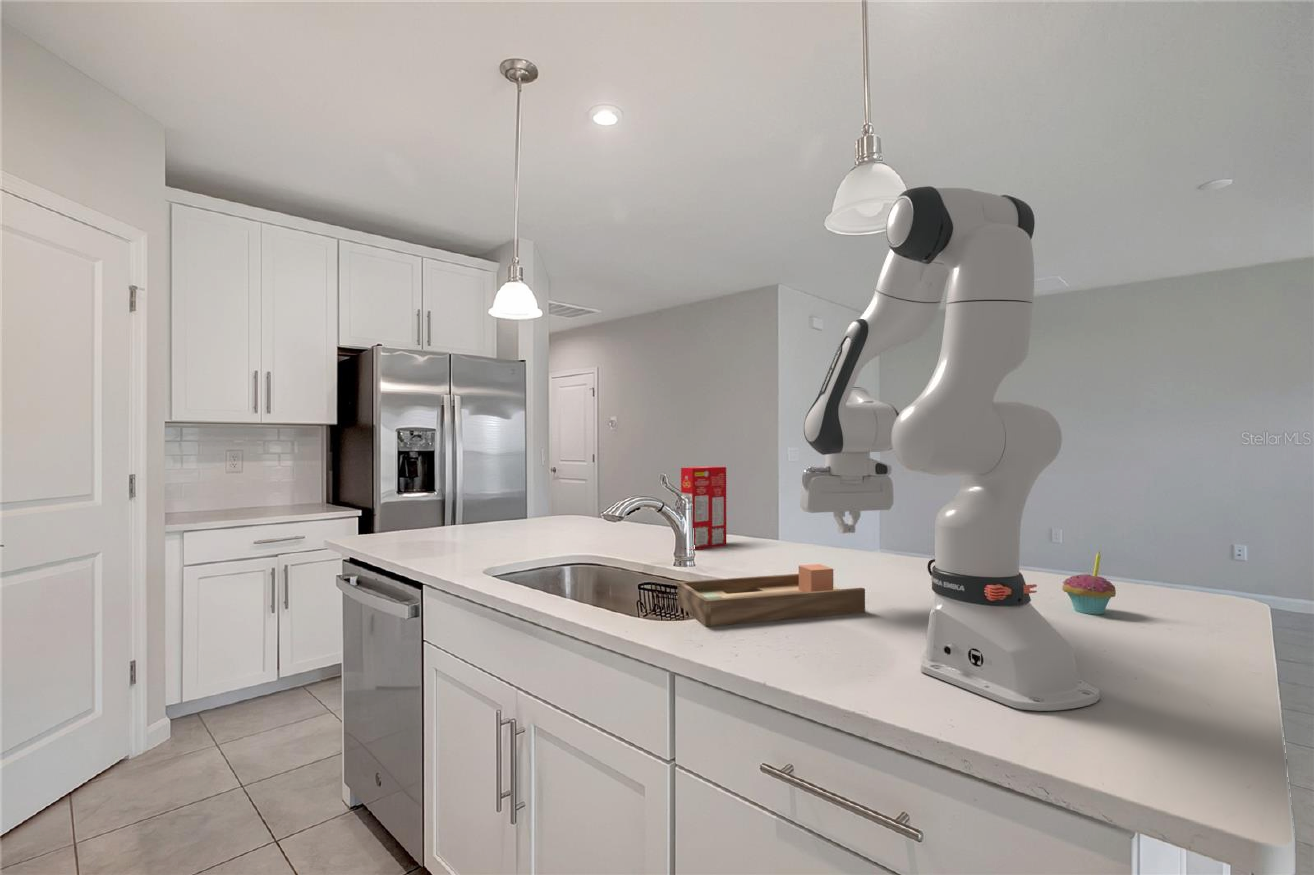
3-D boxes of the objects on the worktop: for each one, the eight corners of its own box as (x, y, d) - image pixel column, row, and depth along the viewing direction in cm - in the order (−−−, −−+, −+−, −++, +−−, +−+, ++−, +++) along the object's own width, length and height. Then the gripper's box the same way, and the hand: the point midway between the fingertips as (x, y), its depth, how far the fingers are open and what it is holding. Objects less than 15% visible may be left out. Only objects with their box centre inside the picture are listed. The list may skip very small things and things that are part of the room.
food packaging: (714, 543, 203) (714, 466, 204) (726, 545, 199) (726, 467, 200) (681, 548, 194) (680, 467, 194) (692, 550, 190) (692, 468, 190)
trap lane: (865, 612, 121) (865, 588, 121) (705, 626, 111) (705, 601, 112) (820, 592, 136) (820, 572, 136) (677, 604, 127) (677, 581, 127)
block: (833, 593, 125) (833, 568, 125) (811, 595, 124) (811, 570, 124) (820, 588, 130) (820, 564, 130) (798, 589, 128) (798, 565, 129)
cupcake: (1099, 606, 125) (1098, 546, 125) (1126, 618, 117) (1126, 554, 117) (1053, 605, 126) (1053, 545, 126) (1078, 617, 117) (1077, 553, 117)
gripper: (810, 467, 123) (810, 537, 123) (898, 466, 129) (897, 533, 129) (794, 466, 129) (794, 532, 130) (879, 464, 135) (878, 528, 135)
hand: (846, 532), depth 129 cm, fingers closed
